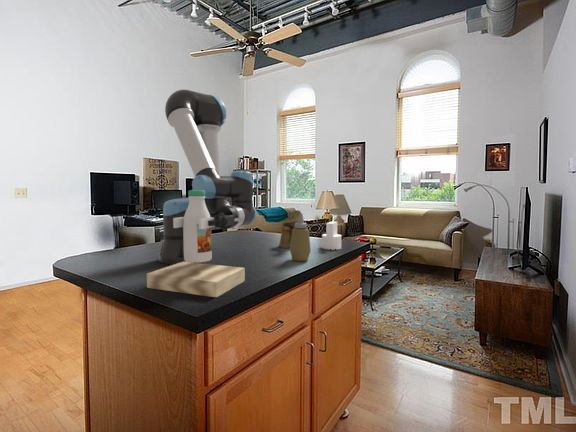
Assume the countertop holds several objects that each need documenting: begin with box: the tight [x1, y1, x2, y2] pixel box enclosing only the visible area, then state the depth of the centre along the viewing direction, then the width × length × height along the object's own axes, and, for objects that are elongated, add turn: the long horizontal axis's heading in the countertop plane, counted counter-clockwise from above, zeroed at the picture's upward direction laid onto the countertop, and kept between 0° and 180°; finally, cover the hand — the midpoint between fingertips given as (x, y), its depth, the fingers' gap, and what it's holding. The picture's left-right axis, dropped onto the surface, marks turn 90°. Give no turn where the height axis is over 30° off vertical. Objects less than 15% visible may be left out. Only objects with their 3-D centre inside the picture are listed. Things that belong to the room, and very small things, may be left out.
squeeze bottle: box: [289, 213, 311, 262], centre depth 129 cm, size 8×8×18 cm
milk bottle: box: [183, 189, 213, 263], centre depth 94 cm, size 8×8×20 cm
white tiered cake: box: [321, 221, 342, 251], centre depth 157 cm, size 9×9×12 cm
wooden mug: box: [278, 210, 303, 249], centre depth 156 cm, size 9×14×18 cm, turn 27°
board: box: [146, 262, 246, 298], centre depth 96 cm, size 22×16×4 cm
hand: (187, 223), depth 90 cm, fingers closed on milk bottle, 7 cm apart
